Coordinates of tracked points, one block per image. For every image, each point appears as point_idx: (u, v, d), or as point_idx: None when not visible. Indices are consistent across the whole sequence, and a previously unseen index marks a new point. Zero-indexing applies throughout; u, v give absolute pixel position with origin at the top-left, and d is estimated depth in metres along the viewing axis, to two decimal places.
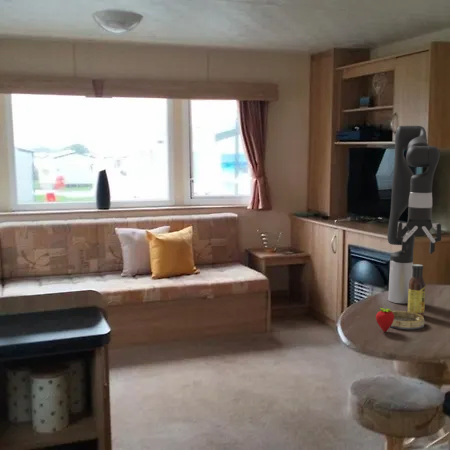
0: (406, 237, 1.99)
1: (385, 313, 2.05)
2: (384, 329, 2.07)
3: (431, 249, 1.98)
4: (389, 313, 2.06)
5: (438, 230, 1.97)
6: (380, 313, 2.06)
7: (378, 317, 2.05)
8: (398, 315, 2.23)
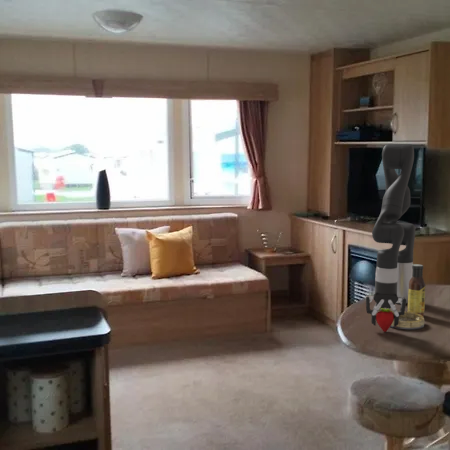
0: (375, 311, 2.06)
1: (385, 313, 2.05)
2: (384, 329, 2.07)
3: (395, 322, 2.06)
4: (389, 313, 2.06)
5: (403, 304, 2.04)
6: (380, 313, 2.06)
7: (378, 317, 2.05)
8: None
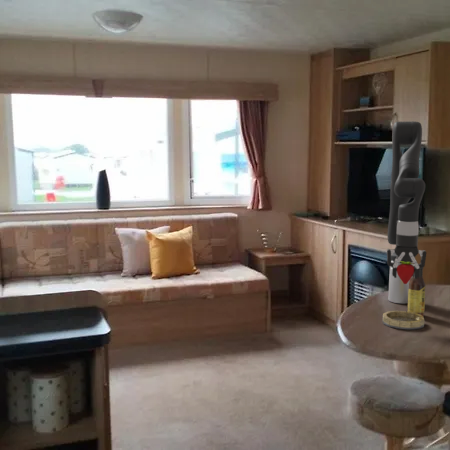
0: (396, 263, 2.14)
1: (406, 265, 2.13)
2: (404, 281, 2.14)
3: (415, 274, 2.13)
4: (409, 265, 2.13)
5: (423, 257, 2.12)
6: (401, 265, 2.13)
7: (399, 269, 2.12)
8: (398, 315, 2.23)
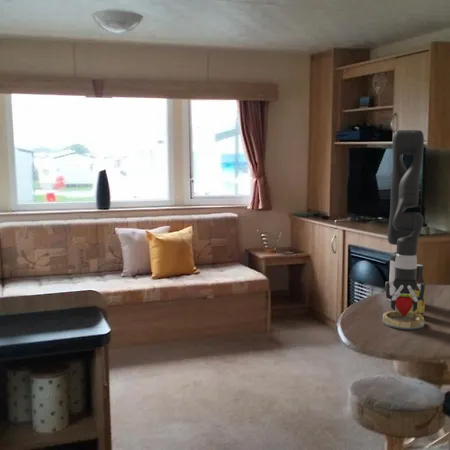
0: (394, 296, 2.15)
1: (404, 298, 2.14)
2: (403, 314, 2.15)
3: (414, 307, 2.15)
4: (408, 298, 2.14)
5: (421, 290, 2.13)
6: (399, 298, 2.15)
7: (397, 302, 2.14)
8: (398, 315, 2.23)
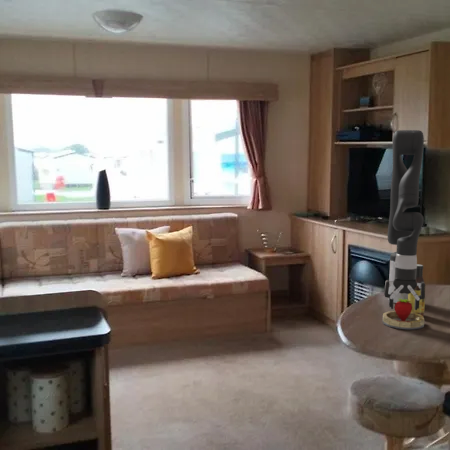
0: (393, 295, 2.15)
1: (403, 303, 2.15)
2: (402, 319, 2.16)
3: (416, 306, 2.15)
4: (407, 303, 2.15)
5: (422, 289, 2.13)
6: (398, 303, 2.15)
7: (397, 307, 2.14)
8: None
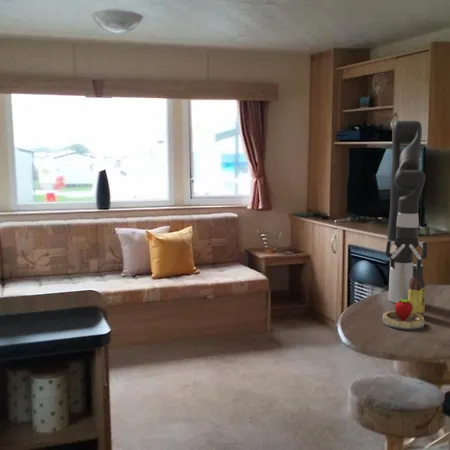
0: (394, 254, 2.14)
1: (404, 303, 2.15)
2: (403, 319, 2.16)
3: (417, 265, 2.13)
4: (408, 303, 2.15)
5: (424, 248, 2.11)
6: (399, 303, 2.15)
7: (397, 307, 2.14)
8: None
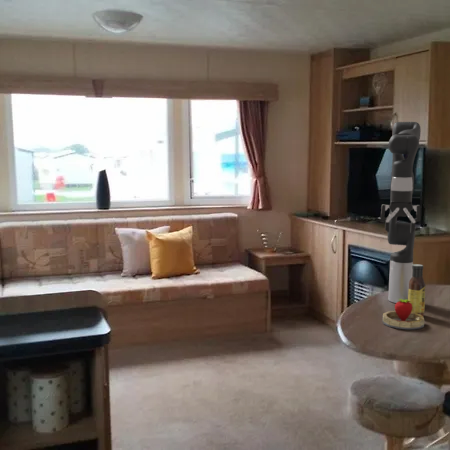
0: (389, 218, 2.19)
1: (404, 303, 2.15)
2: (403, 319, 2.16)
3: (411, 229, 2.18)
4: (407, 303, 2.15)
5: (418, 211, 2.16)
6: (399, 303, 2.15)
7: (397, 307, 2.14)
8: None
